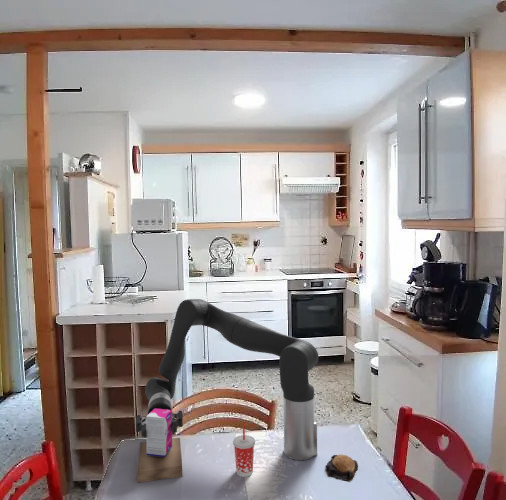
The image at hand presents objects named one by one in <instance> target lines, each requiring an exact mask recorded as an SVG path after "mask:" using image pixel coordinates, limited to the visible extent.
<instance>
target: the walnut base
mask: <svg viewBox="0 0 506 500" xmlns="http://www.w3.org/2000/svg"><path fill="white" fill-rule="evenodd" d="M138 450H139V451H138V459H137V461H138V462H137V467H136V468H137V470H136V482H137V483H143V482H144V483H145V482H151V481H158V480H165V479H173V478H181V477H183V459H182V444H181V437H175V438H174V437H172V448H171V449H170V450H169V452H168V453H167V454H166V456H165V457H158V456H148V455H146V454H147V444H146V441H141V442H139V449H138Z"/></svg>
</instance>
